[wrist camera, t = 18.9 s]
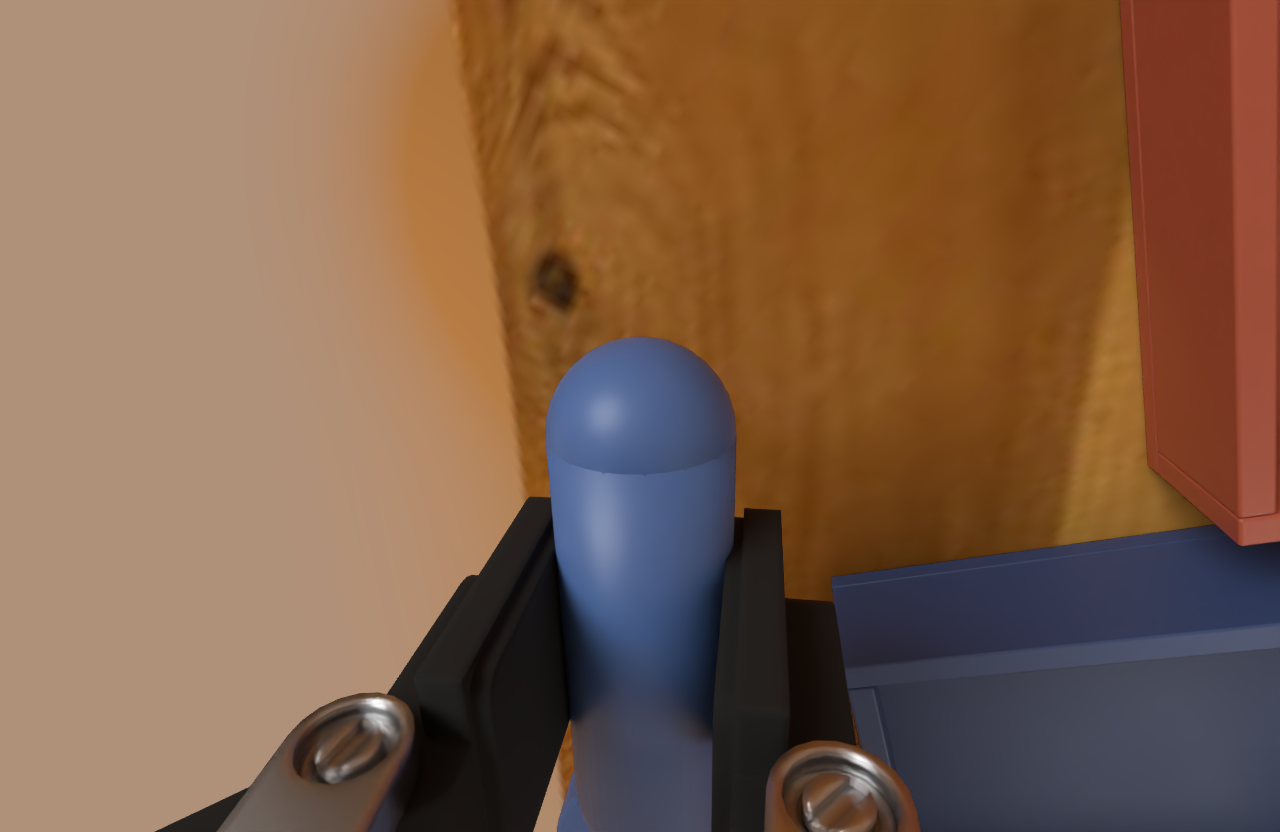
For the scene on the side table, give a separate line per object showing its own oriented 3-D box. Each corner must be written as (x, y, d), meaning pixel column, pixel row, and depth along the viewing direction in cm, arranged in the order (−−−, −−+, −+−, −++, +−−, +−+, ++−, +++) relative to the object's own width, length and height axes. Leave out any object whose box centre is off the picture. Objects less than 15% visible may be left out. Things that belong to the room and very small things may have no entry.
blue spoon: (525, 314, 10) (456, 368, 8) (787, 317, 9) (795, 376, 7) (575, 858, 14) (540, 995, 12) (758, 885, 13) (757, 1033, 11)
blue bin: (830, 576, 18) (841, 668, 15) (1636, 466, 14) (1887, 562, 11) (910, 914, 23) (931, 1042, 19) (1553, 909, 18) (1716, 1072, 15)
